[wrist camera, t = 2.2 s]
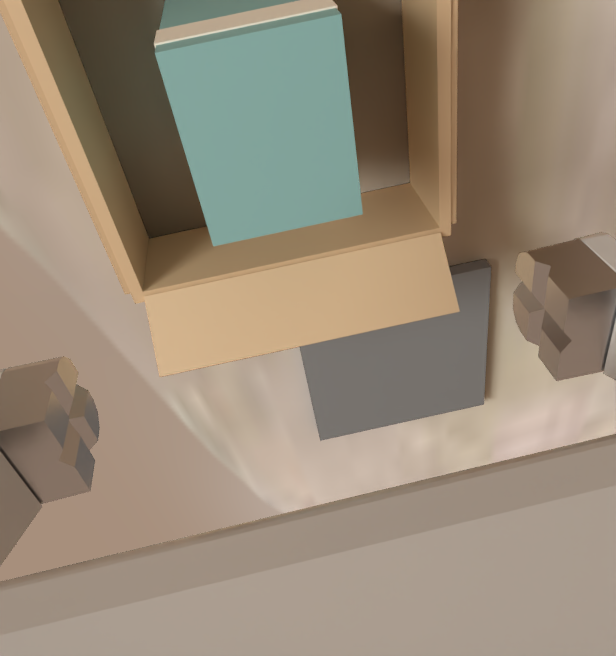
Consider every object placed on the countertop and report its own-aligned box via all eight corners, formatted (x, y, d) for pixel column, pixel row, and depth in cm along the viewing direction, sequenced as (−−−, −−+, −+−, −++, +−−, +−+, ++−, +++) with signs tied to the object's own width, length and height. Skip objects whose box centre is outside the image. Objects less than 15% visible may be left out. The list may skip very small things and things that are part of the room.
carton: (410, -322, 18) (503, -396, 13) (427, 229, 31) (477, 310, 25) (-56, -229, 18) (-166, -264, 12) (152, 288, 30) (142, 383, 25)
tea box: (296, -38, 22) (343, 11, 16) (319, 119, 26) (364, 215, 19) (165, -11, 22) (152, 51, 15) (207, 143, 26) (212, 248, 19)
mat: (485, 258, 32) (491, 266, 32) (479, 395, 39) (483, 404, 39) (289, 301, 32) (291, 310, 32) (318, 431, 39) (320, 440, 39)
